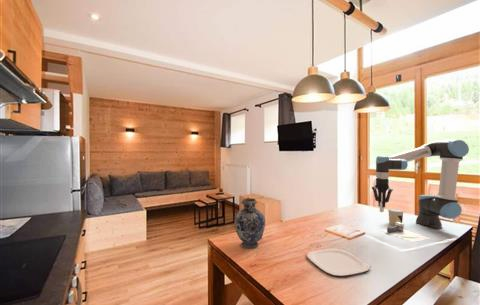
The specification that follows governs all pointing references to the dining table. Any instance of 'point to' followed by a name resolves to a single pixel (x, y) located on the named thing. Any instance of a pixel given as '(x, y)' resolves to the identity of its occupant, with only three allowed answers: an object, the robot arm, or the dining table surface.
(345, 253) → the plate
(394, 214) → the coffee cup
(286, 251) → the dining table surface
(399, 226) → the dark grey lever
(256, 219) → the decorative vase
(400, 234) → the gauge board
